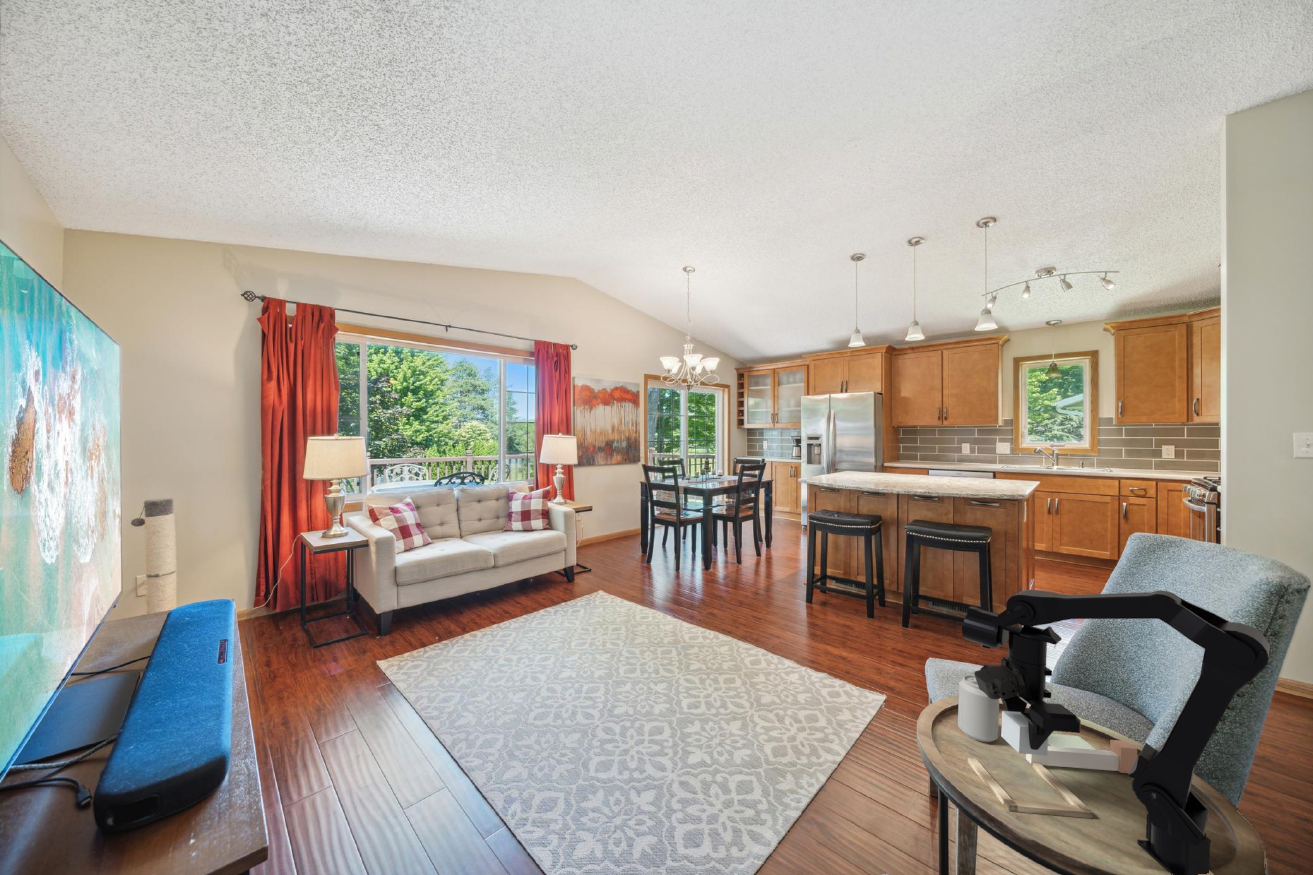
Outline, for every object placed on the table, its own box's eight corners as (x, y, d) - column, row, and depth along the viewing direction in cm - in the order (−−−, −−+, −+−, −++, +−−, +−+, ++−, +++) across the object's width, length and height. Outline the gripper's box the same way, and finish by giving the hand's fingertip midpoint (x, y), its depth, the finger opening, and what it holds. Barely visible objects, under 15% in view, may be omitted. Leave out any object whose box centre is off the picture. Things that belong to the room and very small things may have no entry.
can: (1004, 747, 102) (1006, 691, 102) (966, 741, 103) (968, 686, 103) (988, 726, 109) (989, 674, 109) (952, 721, 110) (953, 670, 111)
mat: (1114, 765, 97) (1114, 763, 97) (1067, 761, 98) (1067, 759, 98) (1078, 737, 106) (1078, 735, 106) (1036, 734, 107) (1036, 732, 107)
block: (1047, 755, 88) (1048, 728, 88) (1018, 753, 88) (1019, 726, 88) (1028, 738, 93) (1029, 712, 93) (1001, 736, 93) (1002, 710, 93)
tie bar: (1136, 773, 94) (1137, 748, 94) (1032, 765, 95) (1033, 740, 95) (1125, 765, 96) (1126, 740, 96) (1024, 757, 98) (1025, 733, 98)
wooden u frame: (1093, 818, 83) (1093, 812, 83) (1008, 811, 84) (1009, 805, 84) (1040, 768, 95) (1040, 763, 95) (967, 762, 96) (967, 757, 96)
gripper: (955, 635, 100) (952, 709, 100) (1016, 680, 82) (1012, 770, 82) (1010, 638, 99) (1008, 713, 99) (1084, 684, 81) (1081, 776, 81)
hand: (1023, 740), depth 90 cm, fingers closed on block, 5 cm apart
